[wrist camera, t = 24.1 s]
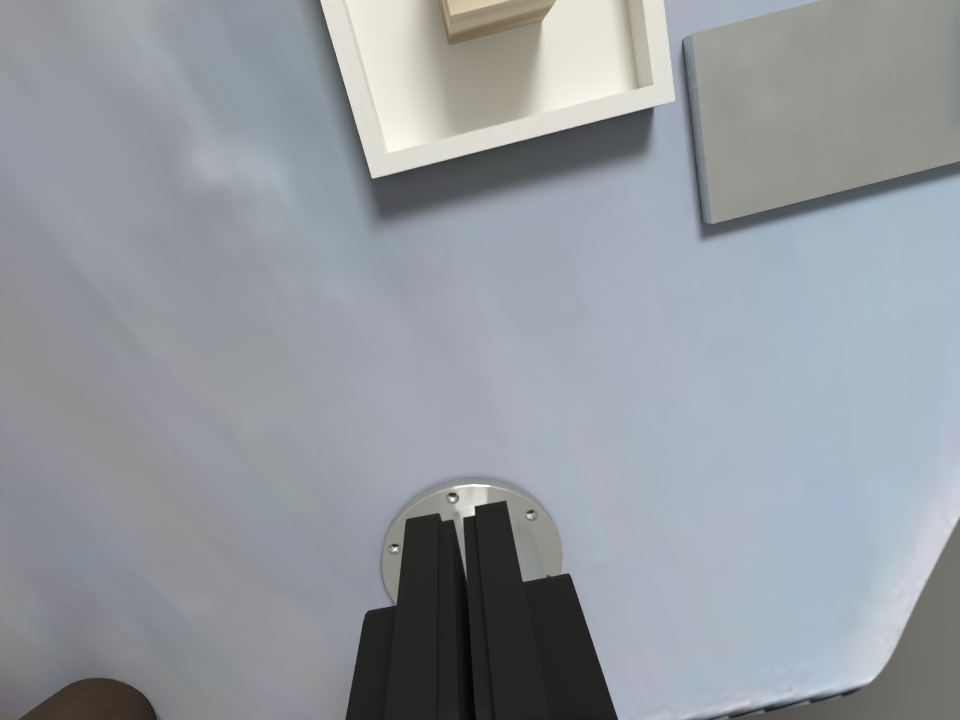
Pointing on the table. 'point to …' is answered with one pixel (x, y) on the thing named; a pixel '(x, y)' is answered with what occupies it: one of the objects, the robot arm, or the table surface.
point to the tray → (492, 75)
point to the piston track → (822, 101)
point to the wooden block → (489, 16)
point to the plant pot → (94, 703)
